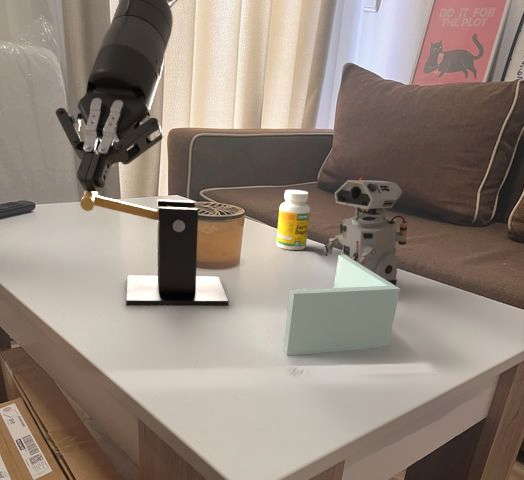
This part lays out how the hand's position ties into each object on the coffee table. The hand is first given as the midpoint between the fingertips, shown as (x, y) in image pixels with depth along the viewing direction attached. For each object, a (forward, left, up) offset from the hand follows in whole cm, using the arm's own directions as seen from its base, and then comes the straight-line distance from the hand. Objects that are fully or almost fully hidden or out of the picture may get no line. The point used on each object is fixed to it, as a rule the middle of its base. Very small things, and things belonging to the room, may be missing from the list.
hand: (88, 187), depth 58 cm
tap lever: (+5, 0, -4) cm, 6 cm away
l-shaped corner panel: (+25, -11, -13) cm, 30 cm away
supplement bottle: (+32, +26, -13) cm, 43 cm away
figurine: (+37, +7, -13) cm, 40 cm away
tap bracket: (+10, 0, -13) cm, 16 cm away
